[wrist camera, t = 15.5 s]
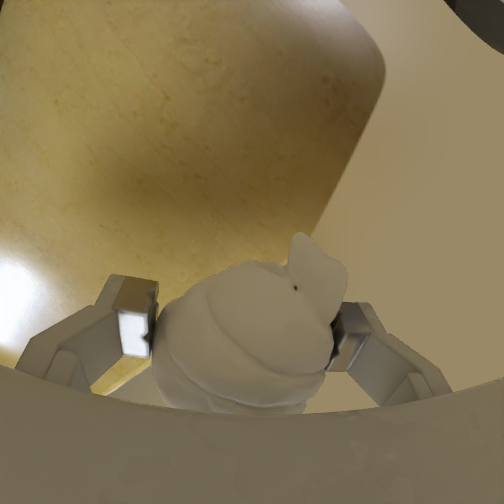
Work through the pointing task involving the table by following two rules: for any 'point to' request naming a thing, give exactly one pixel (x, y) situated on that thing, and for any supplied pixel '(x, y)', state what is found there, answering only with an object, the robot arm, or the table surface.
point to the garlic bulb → (251, 335)
